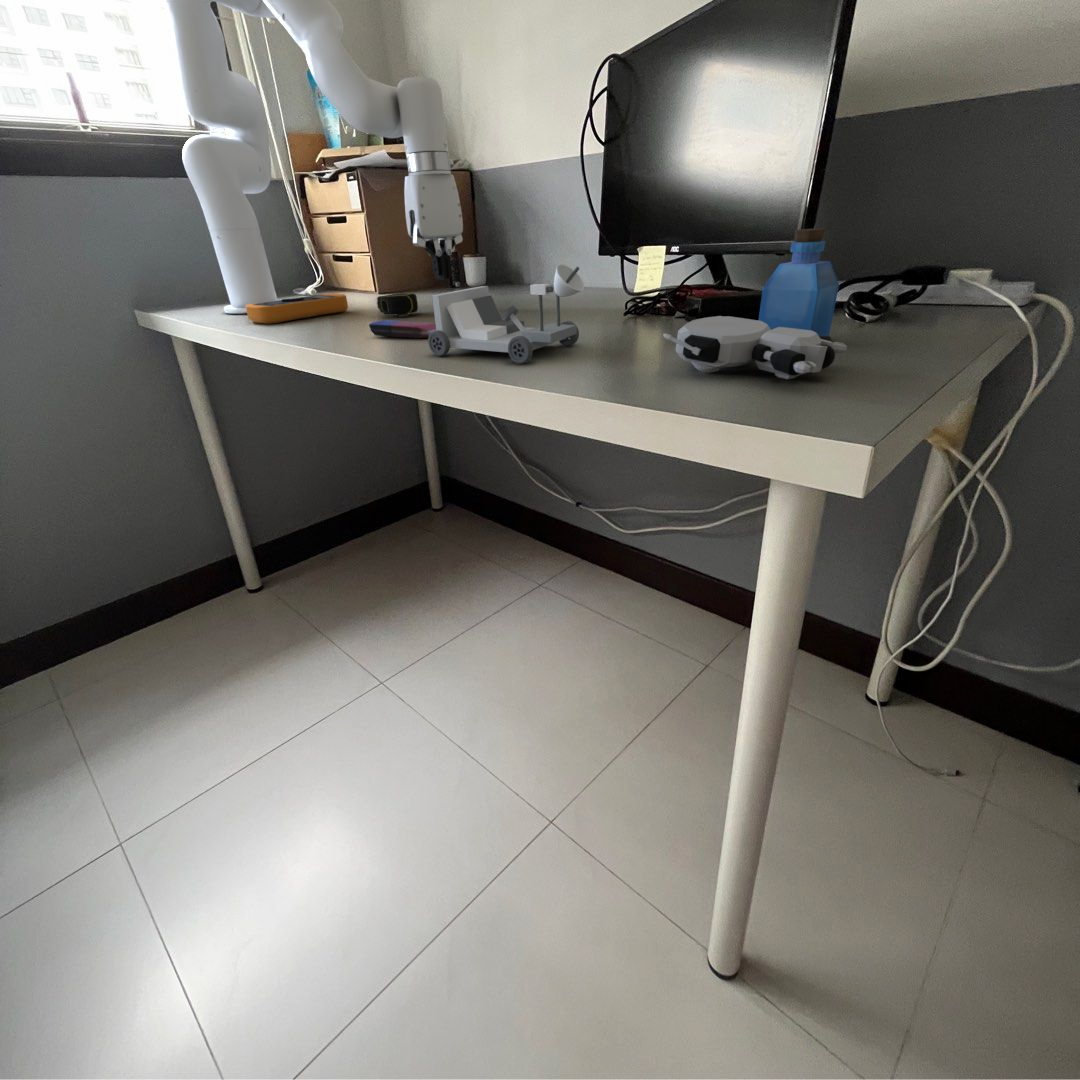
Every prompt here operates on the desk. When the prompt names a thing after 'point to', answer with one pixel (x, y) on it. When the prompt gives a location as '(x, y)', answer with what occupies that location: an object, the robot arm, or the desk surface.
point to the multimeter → (296, 308)
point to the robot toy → (753, 346)
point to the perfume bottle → (802, 288)
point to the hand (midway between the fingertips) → (443, 278)
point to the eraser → (402, 329)
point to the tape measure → (398, 304)
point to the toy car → (500, 320)
